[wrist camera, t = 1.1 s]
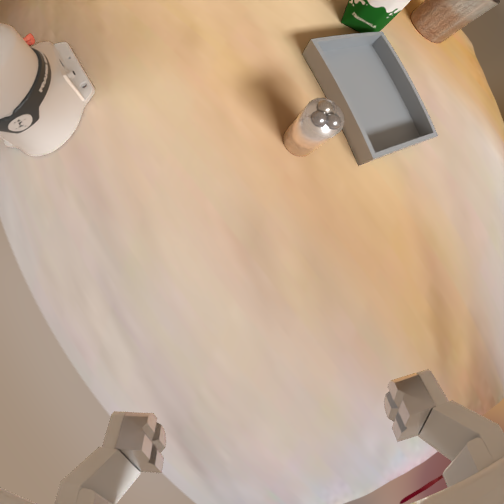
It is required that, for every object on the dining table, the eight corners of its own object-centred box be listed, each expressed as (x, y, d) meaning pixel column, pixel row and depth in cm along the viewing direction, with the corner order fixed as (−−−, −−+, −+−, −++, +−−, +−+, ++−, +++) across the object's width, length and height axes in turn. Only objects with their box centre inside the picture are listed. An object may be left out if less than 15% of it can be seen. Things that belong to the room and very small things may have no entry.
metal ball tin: (277, 131, 45) (301, 99, 33) (306, 121, 46) (336, 90, 34) (291, 161, 46) (320, 138, 34) (320, 150, 46) (355, 126, 34)
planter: (447, 37, 50) (504, -1, 28) (433, 48, 49) (495, 6, 27) (420, 8, 49) (471, -37, 26) (403, 16, 48) (458, -34, 26)
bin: (302, 54, 45) (310, 39, 40) (370, 43, 47) (382, 31, 42) (358, 165, 47) (373, 159, 42) (421, 142, 49) (438, 135, 44)
